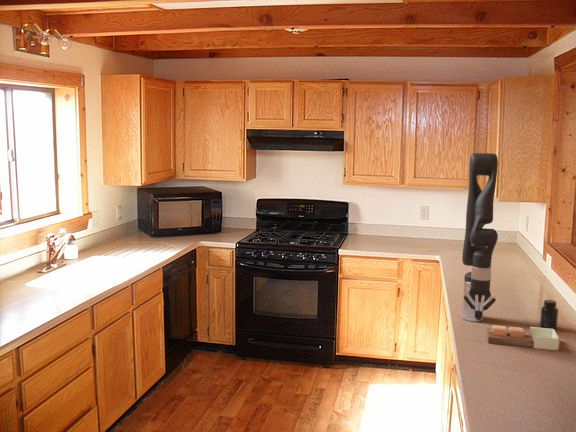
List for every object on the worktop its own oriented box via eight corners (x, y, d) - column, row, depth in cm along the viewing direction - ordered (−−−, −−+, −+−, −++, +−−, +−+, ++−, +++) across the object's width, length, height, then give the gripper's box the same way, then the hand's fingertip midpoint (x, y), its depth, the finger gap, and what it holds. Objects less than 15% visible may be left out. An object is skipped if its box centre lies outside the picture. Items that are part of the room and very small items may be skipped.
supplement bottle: (543, 324, 271) (545, 297, 269) (559, 328, 266) (561, 301, 264) (536, 328, 266) (539, 301, 264) (552, 332, 261) (555, 304, 259)
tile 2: (508, 332, 252) (509, 326, 252) (521, 333, 251) (522, 327, 251) (510, 336, 247) (510, 330, 247) (523, 338, 246) (524, 331, 246)
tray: (529, 337, 254) (530, 326, 253) (552, 339, 252) (553, 329, 251) (533, 348, 242) (534, 336, 242) (558, 350, 240) (559, 339, 240)
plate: (486, 333, 257) (486, 328, 257) (529, 338, 253) (530, 332, 253) (488, 343, 247) (488, 337, 246) (533, 347, 243) (533, 341, 242)
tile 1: (492, 331, 254) (492, 325, 253) (505, 332, 252) (505, 326, 252) (493, 335, 249) (493, 329, 248) (506, 336, 248) (506, 330, 247)
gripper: (497, 276, 251) (494, 318, 253) (463, 274, 254) (460, 315, 257) (499, 281, 244) (496, 323, 246) (464, 278, 247) (461, 320, 249)
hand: (478, 319), depth 251 cm, fingers closed
